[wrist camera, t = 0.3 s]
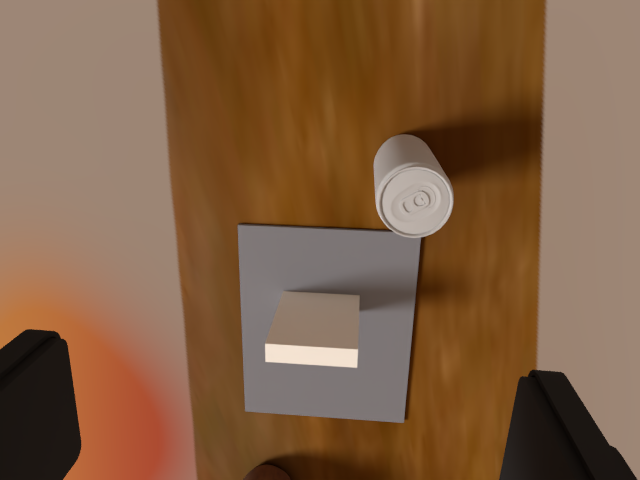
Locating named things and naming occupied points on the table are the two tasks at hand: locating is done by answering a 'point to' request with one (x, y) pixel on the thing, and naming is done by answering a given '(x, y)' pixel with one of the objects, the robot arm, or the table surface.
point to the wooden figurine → (267, 473)
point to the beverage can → (411, 187)
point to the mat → (332, 278)
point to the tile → (315, 330)
